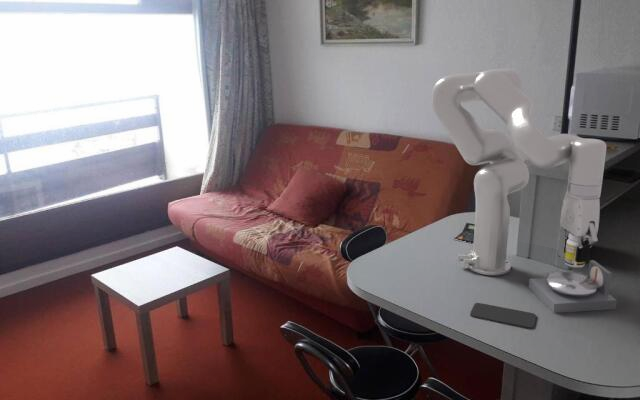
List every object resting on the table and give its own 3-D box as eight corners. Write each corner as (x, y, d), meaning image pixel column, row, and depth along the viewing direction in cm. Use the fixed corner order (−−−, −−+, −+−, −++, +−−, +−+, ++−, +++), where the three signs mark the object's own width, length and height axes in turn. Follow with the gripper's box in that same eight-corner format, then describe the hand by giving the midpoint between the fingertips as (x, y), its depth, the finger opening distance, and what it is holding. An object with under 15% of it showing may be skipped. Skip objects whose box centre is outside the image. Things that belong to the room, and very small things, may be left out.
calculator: (454, 240, 180) (454, 232, 179) (466, 230, 189) (467, 222, 188) (481, 246, 175) (482, 237, 174) (492, 235, 184) (493, 227, 183)
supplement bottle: (584, 261, 138) (587, 231, 135) (585, 269, 133) (588, 238, 131) (563, 259, 139) (567, 229, 137) (564, 266, 135) (567, 235, 133)
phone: (475, 301, 138) (536, 313, 131) (475, 304, 138) (536, 316, 132) (469, 315, 132) (533, 328, 125) (468, 318, 132) (533, 331, 125)
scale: (553, 312, 132) (557, 282, 130) (528, 287, 146) (531, 258, 143) (615, 308, 133) (619, 278, 131) (584, 283, 147) (588, 255, 144)
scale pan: (560, 297, 132) (561, 294, 132) (538, 276, 144) (538, 273, 144) (606, 294, 133) (607, 291, 133) (581, 274, 145) (581, 270, 144)
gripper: (552, 181, 138) (545, 245, 144) (588, 200, 122) (579, 272, 128) (580, 179, 139) (572, 244, 144) (619, 198, 123) (609, 270, 128)
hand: (575, 256), depth 136 cm, fingers closed on supplement bottle, 4 cm apart
